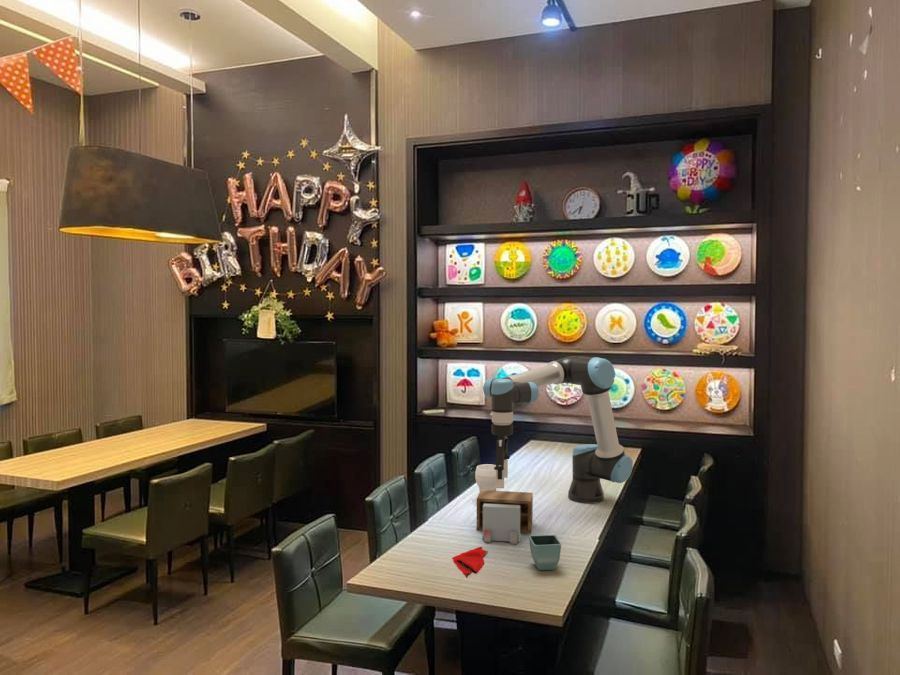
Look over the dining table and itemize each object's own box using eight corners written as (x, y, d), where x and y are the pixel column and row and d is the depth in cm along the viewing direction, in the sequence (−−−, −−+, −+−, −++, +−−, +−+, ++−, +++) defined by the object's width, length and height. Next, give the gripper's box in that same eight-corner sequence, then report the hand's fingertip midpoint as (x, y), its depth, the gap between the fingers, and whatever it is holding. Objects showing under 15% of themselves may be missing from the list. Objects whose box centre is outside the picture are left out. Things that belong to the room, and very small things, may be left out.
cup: (498, 506, 271) (498, 470, 270) (473, 505, 273) (473, 469, 272) (501, 499, 282) (501, 464, 281) (477, 497, 284) (477, 463, 283)
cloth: (467, 546, 230) (467, 539, 230) (504, 552, 224) (504, 546, 224) (434, 574, 206) (435, 567, 206) (475, 582, 200) (475, 574, 200)
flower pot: (528, 562, 214) (528, 535, 213) (554, 561, 215) (555, 534, 214) (533, 573, 205) (534, 545, 205) (561, 572, 206) (561, 544, 205)
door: (482, 539, 233) (482, 506, 232) (484, 535, 237) (484, 502, 236) (519, 542, 231) (519, 508, 230) (520, 537, 235) (520, 504, 234)
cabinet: (532, 523, 251) (532, 492, 250) (530, 533, 240) (531, 501, 239) (480, 520, 254) (480, 489, 254) (476, 530, 243) (476, 498, 243)
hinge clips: (519, 532, 241) (519, 520, 240) (516, 544, 229) (516, 532, 229) (488, 531, 243) (488, 519, 242) (484, 542, 231) (484, 530, 231)
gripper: (495, 416, 244) (495, 472, 245) (487, 429, 220) (487, 492, 221) (515, 417, 243) (515, 473, 244) (509, 430, 218) (509, 493, 220)
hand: (502, 482), depth 233 cm, fingers open, 13 cm apart
